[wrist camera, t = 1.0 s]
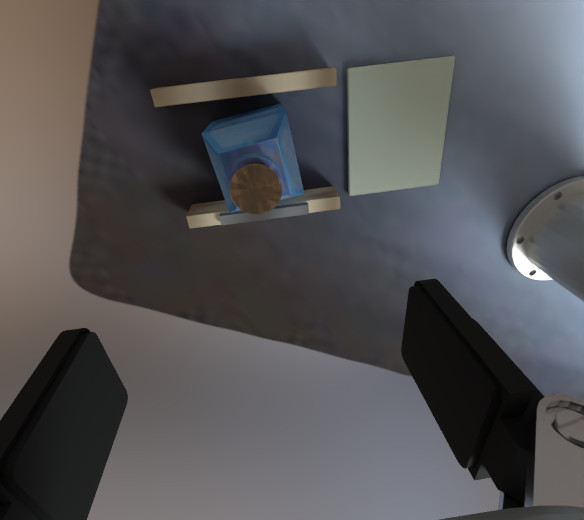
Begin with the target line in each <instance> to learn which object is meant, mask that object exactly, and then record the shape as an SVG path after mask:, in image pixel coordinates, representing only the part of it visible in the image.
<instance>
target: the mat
mask: <svg viewBox="0 0 584 520" xmlns="http://www.w3.org/2000/svg"><path fill="white" fill-rule="evenodd" d="M454 62H455V56H446V57H438V58H429V59H421V60H412V61H404V62H395V63H387V64H378V65H370V66H361V67H353V68H347V134H348V194H349V196H354V195H361V194H369V193H377V192H384V191H392V190H400V189H407V188H415V187H423V186H431V185H438V184H439V176H440V169H441V161H442V154H443V146H444V138H445V131H446V123H447V116H448V108H449V100H450V93H451V85H452V78H453V70H454Z"/></svg>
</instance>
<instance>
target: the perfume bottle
mask: <svg viewBox="0 0 584 520" xmlns="http://www.w3.org/2000/svg"><path fill="white" fill-rule="evenodd" d="M202 137H203V140H204V142H205V145H206V148H207V151H208V154H209V156H210V159H211V162H212V165H213V168H214V170H215V173H216V176H217V179H218V182H219V184H220V187H221V190H222V193H223V196H224V198H225V201H226V204H227V207H228V210H229V212H230V213H231V212H235V211H239V210H242V211H244V212H246V213H248V214H253V215H259V214H265V213H267V212H269V211H271V210H272V209H273V208H275V207H276V206H277V204H278V203H279V201H280V200H282V199H285V198H289V197H293V196H297V195H301V194H304V190H303V185H302V181H301V176H300V172H299V167H298V163H297V158H296V154H295V149H294V145H293V140H292V136H291V131H290V127H289V122H288V118H287V113H286V111H285V109H284V108H283V106H282V105H281V103H279V104H275V105H271V106H268V107H264V108H260V109H256V110H253V111H249V112H245V113H242V114H238V115H234V116H230V117H227V118H223V119H219V120H215V121H212V122H211V123H210V124H209V125H208V127H207V128H206V129H205V130H204V131H203V133H202Z"/></svg>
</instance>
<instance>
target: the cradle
mask: <svg viewBox="0 0 584 520" xmlns="http://www.w3.org/2000/svg"><path fill="white" fill-rule="evenodd" d="M328 86H337V70H336V68H321V69H312V70H304V71H295V72H286V73H278V74H269V75H261V76H252V77H244V78H235V79H227V80H218V81H210V82H201V83H193V84H184V85H176V86H167V87H159V88H155V89H150V91H151V95H152V98H153V102H154V105H155V107H161V106H169V105H177V104H186V103H194V102H203V101H211V100H219V99H228V98H236V97H244V96H253V95H261V94H270V93H278V92H286V91H295V90H303V89H312V88H320V87H328ZM335 209H340V196H339V194H338V193H337V191H336V190H335V188H334V187H333V186H331V187H324V188H316V189H308V190H304V194H301V195H297V196H293V197H289V198H285V199H282V200H280V201H279V203H278V204H277V206H276V207H275V208H273V209H272V210H271V211H269V212H267V213H265V214H259V215H253V214H248V213H246V212H244V211H242V210H239V211H235V212H231V213H230V212H229V210H228V207H227V204H226V201H225V200H222V201H215V202H207V203H199V204H192V205H191V207H190V209H189V212H188V214H187V216H186V217H187V221H188V224H189V228H197V227H205V226H212V225H220V224H221V225H228V224H236V223H244V222H251V221H259V220H266V219H274V218H282V217H289V216H297V215H305V214H309V213H312V212H319V211H327V210H335Z"/></svg>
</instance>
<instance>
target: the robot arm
mask: <svg viewBox="0 0 584 520" xmlns="http://www.w3.org/2000/svg"><path fill="white" fill-rule="evenodd" d="M507 257H508V259H509V262H510V264H511V265H512V266H513V267H514V269H515V270H517V271H518V272H519V273H520V274H522V275H523V276H525V277H527V278H530V279H534V280H552V279H553V280H554V281H556V282H557V283H558V284H560V285H561V286H563V287H564V288H565V289H567V290H568V291H570V292H571V293H572V294H574V295H575V296H577V297H578V298H579V299H581V300H582V301H584V176H579V177H574V178H570V179H567V180H564V181H562V182H560V183H558V184H555V185H553V186H551V187H550V188H548V189H547V190H545V191H544V192H542V193H541V194H540V195H538V196H537V197H536V198H535V199H534V200H532V201H531V202H530V203H529V204H528V205H527V207H526V208H525V209H524V210H523V211H522V212H521V214H520V215H519V217H518V218H517V219H516V221H515V223H514V225H513V227H512V229H511V231H510V234H509V237H508V240H507ZM401 351H402V357H403V360H404V362H405V364H406V365H407V367H408V369H409V371H410V373H411V375H412V377H413V379H414V380H415V382H416V384H417V386H418V388H419V390H420V392H421V393H422V395H423V397H424V399H425V401H426V403H427V404H428V407H429V408H430V410H431V412H432V414H433V416H434V418H435V420H436V421H437V423H438V425H439V427H440V429H441V431H442V433H443V434H444V436H445V438H446V440H447V442H448V444H449V446H450V448H451V449H452V451H453V453H454V455H455V457H456V459H457V460H458V462H459V464H460V465H461V466H462V467H463V468H468V470H469V471H470V473H471V475H472V477H473V479H474V480H479V479H485V478H490V477H491V479H492V480H493V482H494V484H495V485H496V487H497V489H498V490H500V493H499V502H498V510H496V511H490V512H484V513H477V514H471V515H466V516H459V517H452V518H446V519H440V520H584V401H582V400H580V399H578V398H575V397H571V396H567V395H556V394H553V395H549V396H545V397H544V396H543V395H542V394H541V392H540V391H539V390H538V389H537V388H536V387H535V386H534V385H533V384H532V382H531V381H530V380H529V379H528V378H527V377H526V376H525V375H524V374H523V372H522V371H521V370H520V369H519V368H518V367H517V366H516V365H515V363H514V362H513V361H512V360H511V359H510V358H509V357H508V356H507V355H506V353H505V352H504V351H503V350H502V349H501V348H500V347H499V346H498V345H497V343H496V342H495V341H494V340H493V339H492V338H491V337H490V336H489V335H488V333H487V332H486V331H485V330H484V329H483V328H482V327H481V326H480V325H479V323H478V322H476V321H475V320H474V319H472V318H471V317H470V316H469V315H468V313H467V312H466V311H465V310H464V309H463V308H462V307H461V306H460V304H459V303H458V302H457V301H456V300H455V299H454V298H453V297H452V295H451V294H450V293H449V292H448V291H447V290H446V289H445V288H444V286H443V285H442V284H441V283H440V282H439V281H438V280H437V279H429V280H421V281H416V282H415V284H414V286H413V287H410V289H409V294H408V301H407V309H406V317H405V325H404V332H403V340H402V348H401ZM127 400H128V395H127V391H126V389H125V387H124V385H123V383H122V382H121V380H120V378H119V376H118V374H117V372H116V370H115V368H114V367H113V365H112V363H111V361H110V359H109V357H108V355H107V354H106V351H105V349H104V348H103V346H102V344H101V342H100V340H99V338H98V336H97V335H96V333H94V332H90V331H89V330H88V329H87V328H81V329H74V330H66V331H63V332H62V333H60V335H59V336H58V337H57V339H56V340H55V342H54V343H53V344H52V346H51V347H50V349H49V350H48V352H47V353H46V355H45V356H44V358H43V359H42V361H41V362H40V364H39V365H38V366H37V368H36V369H35V371H34V372H33V374H32V375H31V377H30V378H29V380H28V381H27V382H26V384H25V385H24V387H23V388H22V390H21V391H20V393H19V394H18V395H17V397H16V399H15V400H14V402H13V403H12V404H11V406H10V407H9V409H8V410H7V412H6V413H5V414H4V416H3V417H2V419H1V420H0V520H87V517H88V514H89V511H90V509H91V505H92V503H93V500H94V497H95V494H96V491H97V488H98V485H99V483H100V480H101V477H102V474H103V471H104V468H105V465H106V462H107V460H108V457H109V454H110V451H111V448H112V445H113V442H114V439H115V437H116V434H117V431H118V428H119V425H120V422H121V419H122V416H123V413H124V411H125V408H126V404H127Z"/></svg>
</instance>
